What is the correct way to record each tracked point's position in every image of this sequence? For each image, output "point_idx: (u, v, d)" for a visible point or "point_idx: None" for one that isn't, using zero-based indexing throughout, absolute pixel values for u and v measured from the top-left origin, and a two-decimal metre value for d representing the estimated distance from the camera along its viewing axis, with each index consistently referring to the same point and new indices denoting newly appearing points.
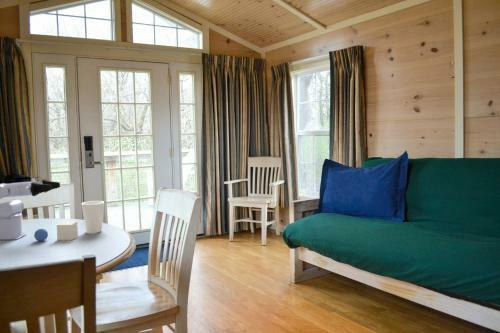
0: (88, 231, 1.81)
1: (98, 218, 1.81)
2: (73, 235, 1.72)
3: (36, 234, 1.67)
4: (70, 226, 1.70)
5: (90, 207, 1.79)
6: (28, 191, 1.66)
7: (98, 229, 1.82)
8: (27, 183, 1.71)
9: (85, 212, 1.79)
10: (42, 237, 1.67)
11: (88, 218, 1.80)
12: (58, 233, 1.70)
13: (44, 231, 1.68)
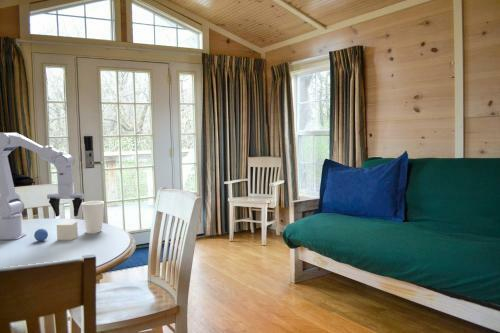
0: (88, 231, 1.81)
1: (98, 218, 1.81)
2: (73, 235, 1.72)
3: (36, 234, 1.67)
4: (70, 226, 1.70)
5: (90, 207, 1.79)
6: None
7: (98, 229, 1.82)
8: (59, 191, 1.69)
9: (85, 212, 1.79)
10: (42, 237, 1.67)
11: (88, 218, 1.80)
12: (58, 233, 1.70)
13: (44, 231, 1.68)
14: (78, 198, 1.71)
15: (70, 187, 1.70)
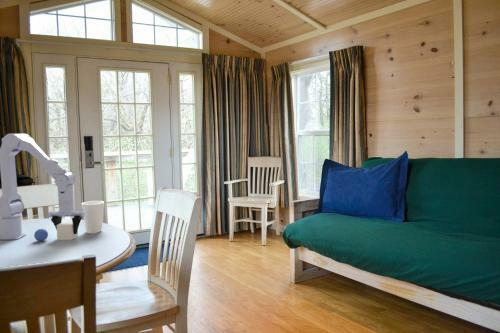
0: (88, 231, 1.81)
1: (98, 218, 1.81)
2: (73, 235, 1.72)
3: (36, 234, 1.67)
4: (70, 226, 1.70)
5: (90, 207, 1.79)
6: None
7: (98, 229, 1.82)
8: (60, 209, 1.70)
9: (85, 212, 1.79)
10: (42, 237, 1.67)
11: (88, 218, 1.80)
12: (58, 233, 1.70)
13: (44, 231, 1.68)
14: (79, 216, 1.72)
15: (71, 205, 1.71)
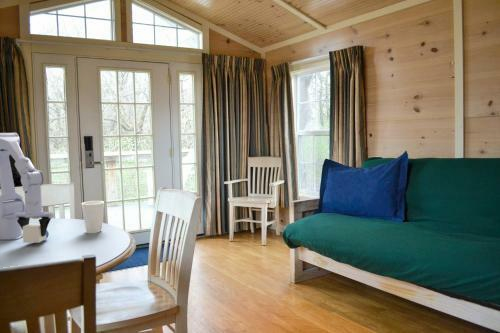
0: (88, 231, 1.81)
1: (98, 218, 1.81)
2: (40, 237, 1.62)
3: None
4: (37, 228, 1.61)
5: (90, 207, 1.79)
6: None
7: (98, 229, 1.82)
8: (26, 210, 1.61)
9: (85, 212, 1.79)
10: None
11: (88, 218, 1.80)
12: (24, 235, 1.61)
13: None
14: (47, 217, 1.63)
15: (38, 206, 1.62)
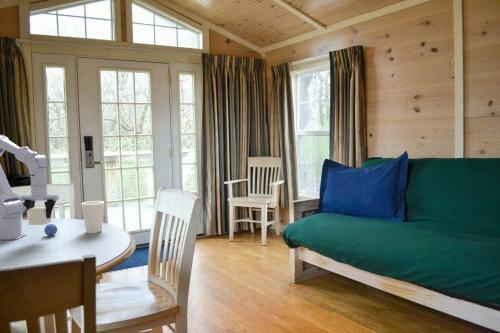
0: (88, 231, 1.81)
1: (98, 218, 1.81)
2: (45, 220, 1.67)
3: None
4: (42, 210, 1.65)
5: (90, 207, 1.79)
6: None
7: (98, 229, 1.82)
8: (32, 193, 1.65)
9: (85, 212, 1.79)
10: None
11: (88, 218, 1.80)
12: (30, 217, 1.65)
13: (55, 233, 1.78)
14: (52, 200, 1.67)
15: (44, 189, 1.66)
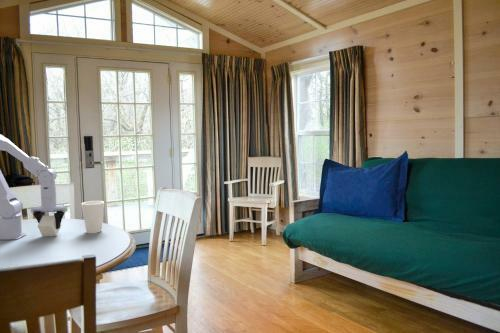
0: (88, 231, 1.81)
1: (98, 218, 1.81)
2: (56, 230, 1.76)
3: None
4: (51, 227, 1.72)
5: (90, 207, 1.79)
6: None
7: (98, 229, 1.82)
8: (42, 205, 1.73)
9: (85, 212, 1.79)
10: None
11: (88, 218, 1.80)
12: (41, 231, 1.74)
13: None
14: (61, 211, 1.75)
15: (53, 201, 1.75)
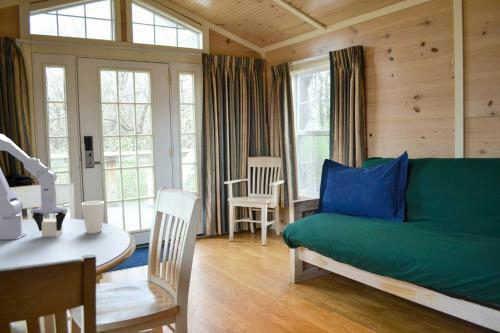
0: (88, 231, 1.81)
1: (98, 218, 1.81)
2: (57, 232, 1.77)
3: None
4: (54, 223, 1.75)
5: (90, 207, 1.79)
6: None
7: (98, 229, 1.82)
8: (42, 206, 1.74)
9: (85, 212, 1.79)
10: None
11: (88, 218, 1.80)
12: (43, 230, 1.76)
13: None
14: (61, 213, 1.75)
15: (53, 202, 1.75)
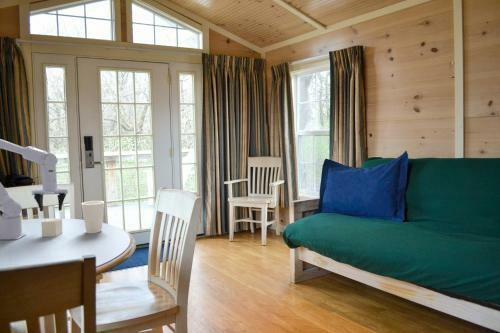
0: (88, 231, 1.81)
1: (98, 218, 1.81)
2: (57, 232, 1.77)
3: None
4: (54, 223, 1.75)
5: (90, 207, 1.79)
6: None
7: (98, 229, 1.82)
8: (44, 187, 1.81)
9: (85, 212, 1.79)
10: None
11: (88, 218, 1.80)
12: (43, 230, 1.76)
13: None
14: (62, 193, 1.84)
15: (55, 183, 1.82)
